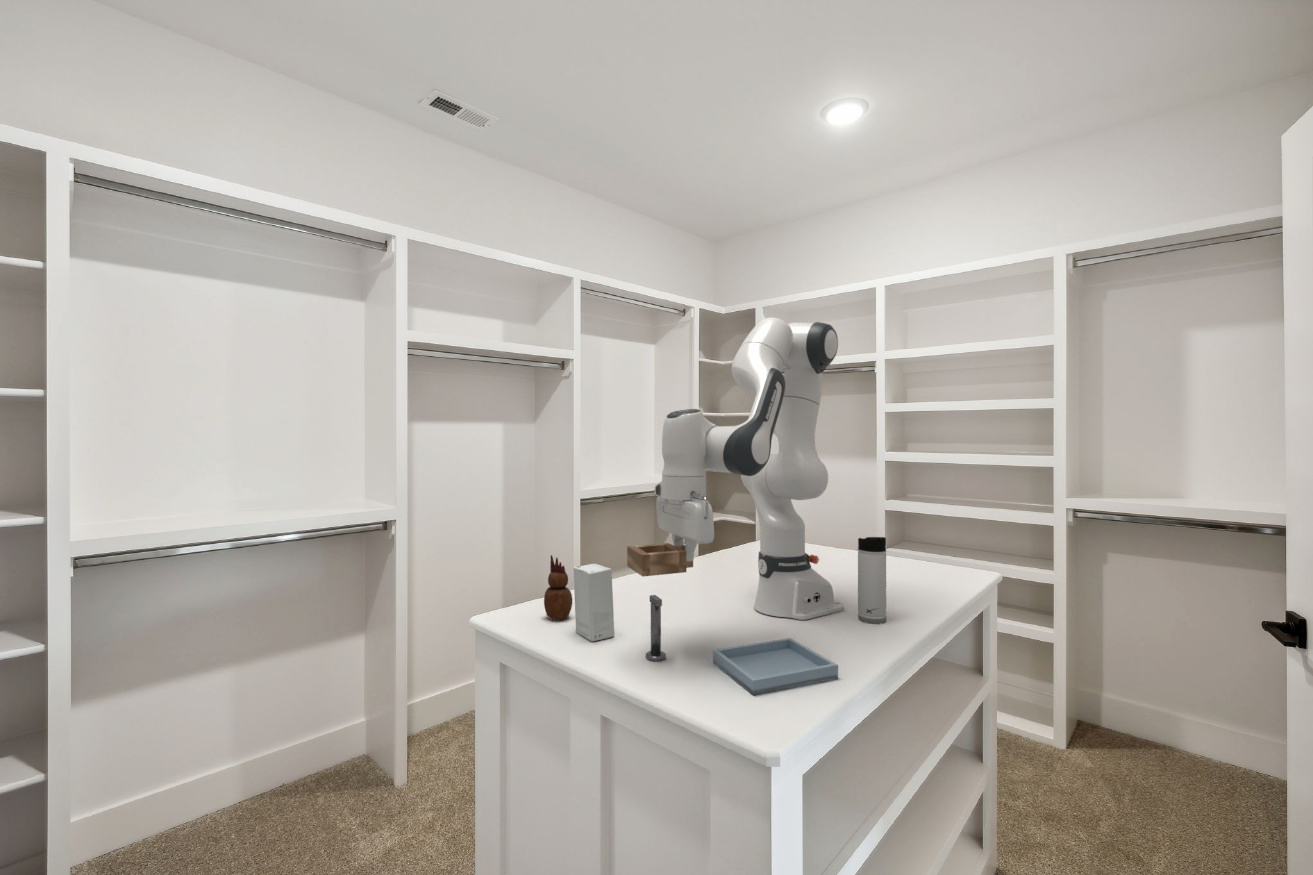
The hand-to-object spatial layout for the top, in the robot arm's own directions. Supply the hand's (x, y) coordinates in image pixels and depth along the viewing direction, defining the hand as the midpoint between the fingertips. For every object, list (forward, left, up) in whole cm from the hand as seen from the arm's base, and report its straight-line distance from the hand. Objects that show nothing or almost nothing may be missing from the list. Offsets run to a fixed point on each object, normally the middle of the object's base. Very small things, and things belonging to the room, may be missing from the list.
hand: (684, 558), depth 113 cm
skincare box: (+14, -17, -19) cm, 29 cm away
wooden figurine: (+19, -31, -19) cm, 41 cm away
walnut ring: (+5, 0, -2) cm, 5 cm away
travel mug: (-50, -2, -19) cm, 53 cm away
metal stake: (+6, 0, -19) cm, 20 cm away
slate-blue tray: (-12, +14, -19) cm, 26 cm away
